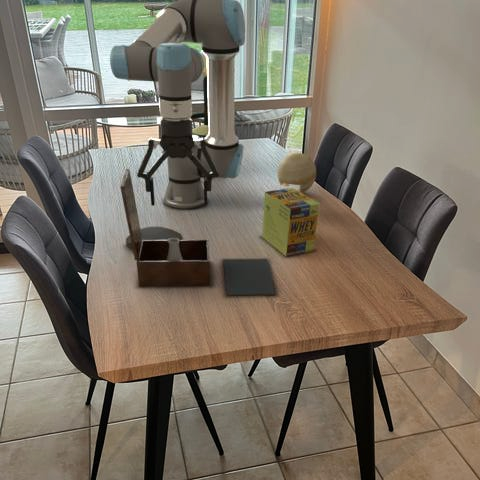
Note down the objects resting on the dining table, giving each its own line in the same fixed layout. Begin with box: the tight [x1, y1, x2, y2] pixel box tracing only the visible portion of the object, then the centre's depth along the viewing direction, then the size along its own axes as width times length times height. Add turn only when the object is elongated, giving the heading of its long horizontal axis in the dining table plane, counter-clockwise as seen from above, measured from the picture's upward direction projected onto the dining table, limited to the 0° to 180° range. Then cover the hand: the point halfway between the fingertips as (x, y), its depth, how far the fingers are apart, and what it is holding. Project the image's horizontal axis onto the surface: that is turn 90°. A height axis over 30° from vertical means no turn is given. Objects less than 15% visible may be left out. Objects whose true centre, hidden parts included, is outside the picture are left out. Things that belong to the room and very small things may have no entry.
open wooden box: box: [136, 239, 211, 288], centre depth 141 cm, size 19×13×8 cm
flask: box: [166, 238, 183, 261], centre depth 140 cm, size 7×7×10 cm
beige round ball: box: [277, 152, 317, 193], centre depth 196 cm, size 15×15×15 cm
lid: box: [119, 168, 142, 261], centre depth 132 cm, size 20×13×1 cm
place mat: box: [223, 258, 276, 297], centre depth 143 cm, size 20×13×1 cm, turn 4°
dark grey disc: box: [125, 226, 183, 251], centre depth 158 cm, size 15×15×3 cm
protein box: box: [261, 188, 320, 257], centre depth 157 cm, size 10×15×16 cm
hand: (179, 203), depth 132 cm, fingers open, 13 cm apart
